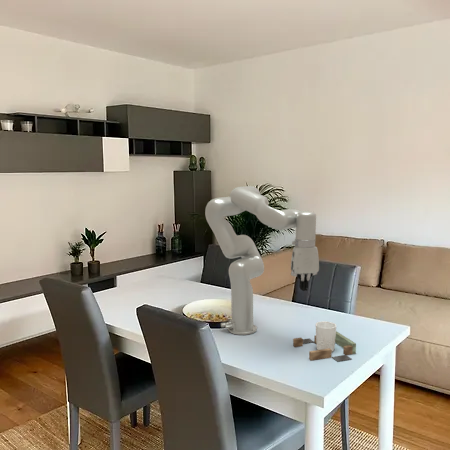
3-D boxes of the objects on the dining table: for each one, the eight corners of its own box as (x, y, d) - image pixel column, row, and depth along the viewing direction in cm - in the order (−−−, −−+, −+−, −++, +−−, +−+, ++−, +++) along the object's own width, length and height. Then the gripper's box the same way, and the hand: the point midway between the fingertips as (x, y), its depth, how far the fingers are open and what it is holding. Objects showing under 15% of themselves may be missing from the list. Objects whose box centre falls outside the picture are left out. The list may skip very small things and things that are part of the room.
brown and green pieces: (316, 365, 166) (316, 354, 165) (288, 342, 188) (288, 332, 188) (362, 358, 172) (362, 347, 171) (329, 336, 194) (329, 327, 193)
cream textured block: (313, 345, 184) (313, 321, 183) (332, 345, 184) (333, 321, 183) (317, 353, 176) (318, 328, 175) (338, 353, 176) (338, 328, 175)
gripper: (291, 246, 171) (289, 294, 174) (327, 244, 175) (325, 291, 178) (283, 242, 178) (282, 288, 181) (318, 241, 182) (316, 286, 185)
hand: (303, 289), depth 179 cm, fingers closed
